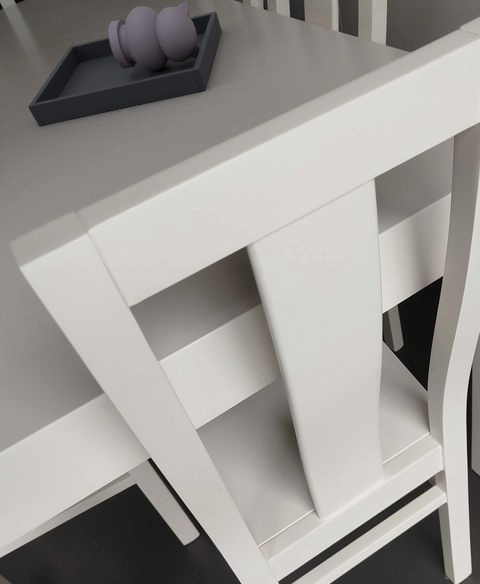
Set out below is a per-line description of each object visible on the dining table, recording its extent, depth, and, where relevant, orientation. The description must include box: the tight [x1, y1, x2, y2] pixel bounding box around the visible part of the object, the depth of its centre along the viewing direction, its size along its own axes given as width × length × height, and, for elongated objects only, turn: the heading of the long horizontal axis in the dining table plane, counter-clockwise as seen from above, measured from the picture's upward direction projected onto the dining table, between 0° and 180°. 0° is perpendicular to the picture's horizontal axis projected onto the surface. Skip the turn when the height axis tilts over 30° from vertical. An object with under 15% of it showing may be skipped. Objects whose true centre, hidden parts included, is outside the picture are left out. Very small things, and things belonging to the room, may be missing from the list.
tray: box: [27, 10, 222, 127], centre depth 90 cm, size 26×22×3 cm
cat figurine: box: [108, 0, 199, 71], centre depth 86 cm, size 8×8×12 cm
